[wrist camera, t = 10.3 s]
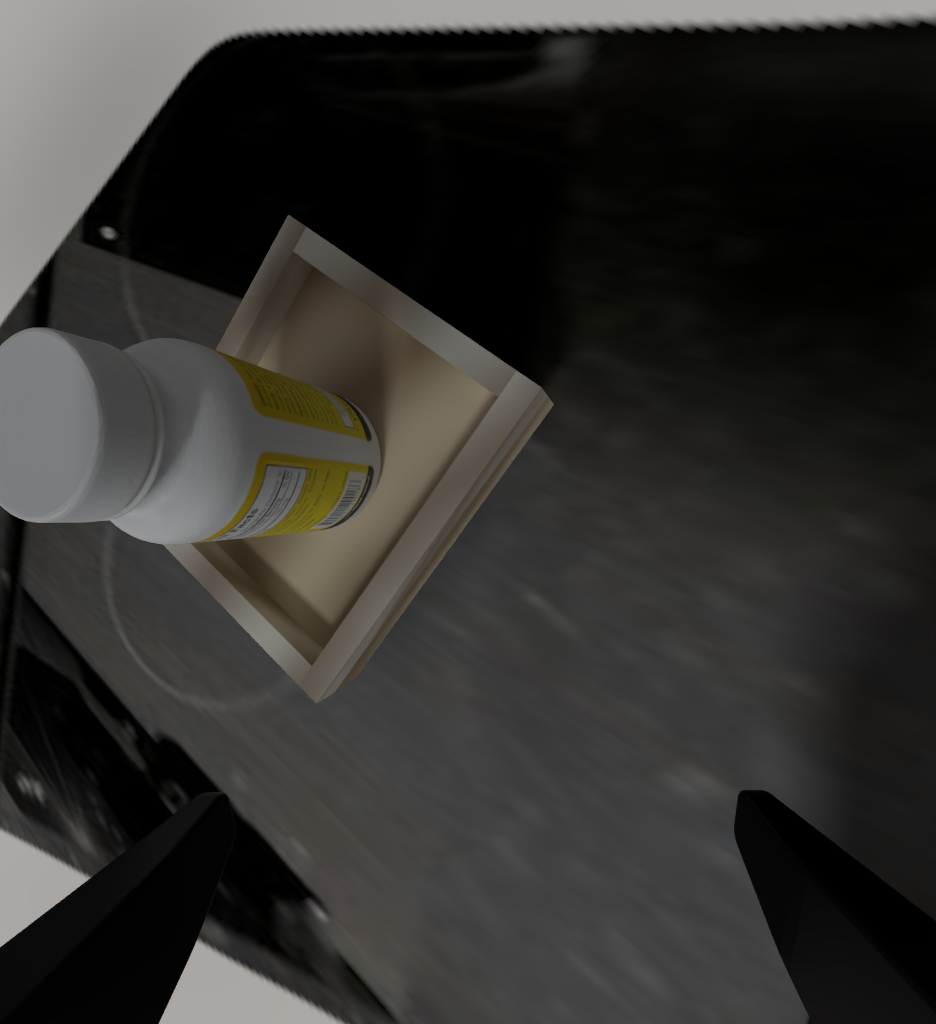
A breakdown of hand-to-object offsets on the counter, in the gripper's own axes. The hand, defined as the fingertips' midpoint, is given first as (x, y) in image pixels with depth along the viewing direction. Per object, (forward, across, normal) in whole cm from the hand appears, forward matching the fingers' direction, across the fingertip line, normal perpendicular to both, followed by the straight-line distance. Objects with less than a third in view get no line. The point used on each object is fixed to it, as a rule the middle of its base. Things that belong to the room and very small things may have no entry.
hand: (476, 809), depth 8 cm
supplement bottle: (+12, +6, -4) cm, 14 cm away
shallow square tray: (+15, +5, -4) cm, 16 cm away
